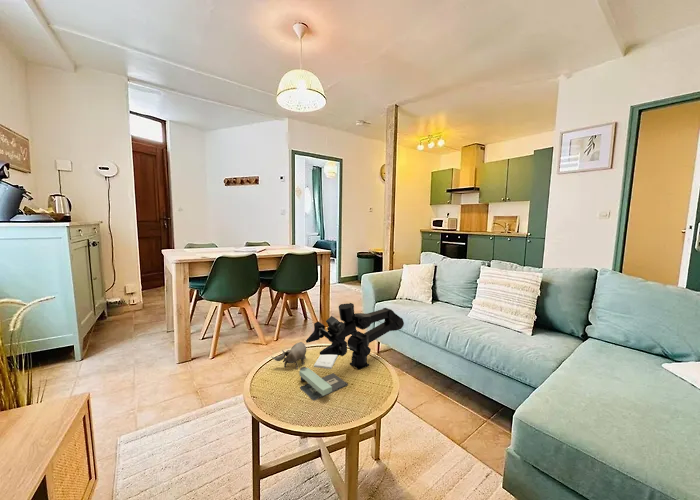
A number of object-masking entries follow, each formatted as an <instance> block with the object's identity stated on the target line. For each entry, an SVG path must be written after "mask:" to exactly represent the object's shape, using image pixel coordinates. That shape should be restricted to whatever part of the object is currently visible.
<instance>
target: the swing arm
mask: <svg viewBox="0 0 700 500" xmlns="http://www.w3.org/2000/svg"><path fill="white" fill-rule="evenodd" d="M298 373H299V376H300V378H301V377H302V378H303V379H304V380H305V382H307V384H308V383H309V384H310V385H311V386H312V387H313V388H315V389H316V390H317V391H318V392H319V393H320V394H321V395H323V396H324V395H326V394H328V393H330V392H332V386H331V385H329V384H328V383H327V382H326V381H324V380H323V379H322V377H321V376H319V375H318V374H317V373H316V372H315V371H313V370H312V369H310V368H309V367H306V366H303V367H300V368H299V372H298ZM332 393H333V392H332ZM330 394H331V393H330ZM328 395H329V394H328ZM326 396H327V395H326ZM324 397H325V396H324Z"/></svg>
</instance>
